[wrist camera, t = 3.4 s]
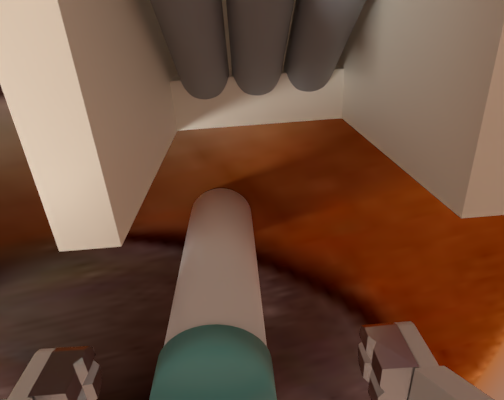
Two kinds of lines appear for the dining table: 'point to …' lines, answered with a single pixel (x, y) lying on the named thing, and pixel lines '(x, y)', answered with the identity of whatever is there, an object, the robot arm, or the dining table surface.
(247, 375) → the marker
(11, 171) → the dining table surface
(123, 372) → the dining table surface
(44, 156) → the tilted socket
